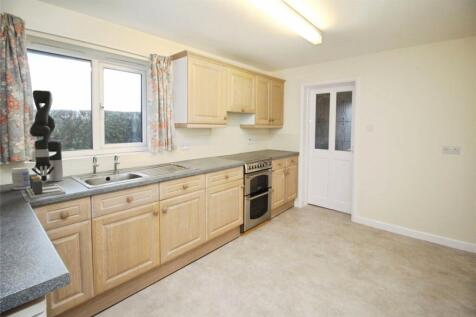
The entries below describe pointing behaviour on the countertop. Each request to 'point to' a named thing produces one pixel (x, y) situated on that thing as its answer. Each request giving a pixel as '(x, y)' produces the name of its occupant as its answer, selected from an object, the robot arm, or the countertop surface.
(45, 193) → the grey base plate
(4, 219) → the countertop surface
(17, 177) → the supplement tub
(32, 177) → the breaker
